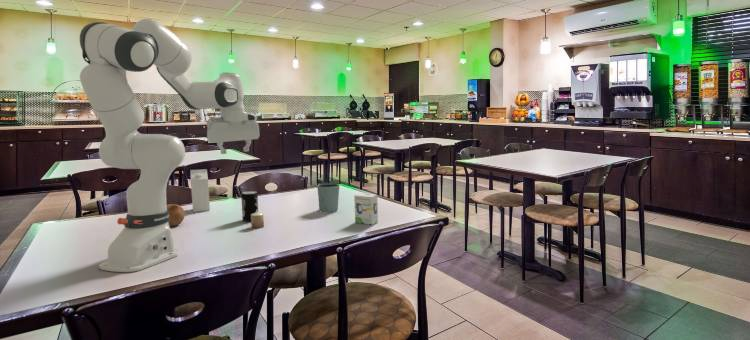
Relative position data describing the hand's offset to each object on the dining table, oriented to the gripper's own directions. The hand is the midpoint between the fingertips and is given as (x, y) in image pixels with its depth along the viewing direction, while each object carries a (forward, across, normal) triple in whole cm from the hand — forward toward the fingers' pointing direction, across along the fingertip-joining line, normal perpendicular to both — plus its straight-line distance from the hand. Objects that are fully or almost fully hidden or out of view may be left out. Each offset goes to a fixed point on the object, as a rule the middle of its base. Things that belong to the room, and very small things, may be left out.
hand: (235, 152), depth 165 cm
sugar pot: (+30, +5, -5) cm, 31 cm away
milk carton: (+31, +2, +40) cm, 51 cm away
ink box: (+30, +39, -32) cm, 59 cm away
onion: (+30, -18, +22) cm, 41 cm away
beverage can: (+30, +8, +7) cm, 32 cm away
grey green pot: (+31, +42, -4) cm, 52 cm away
